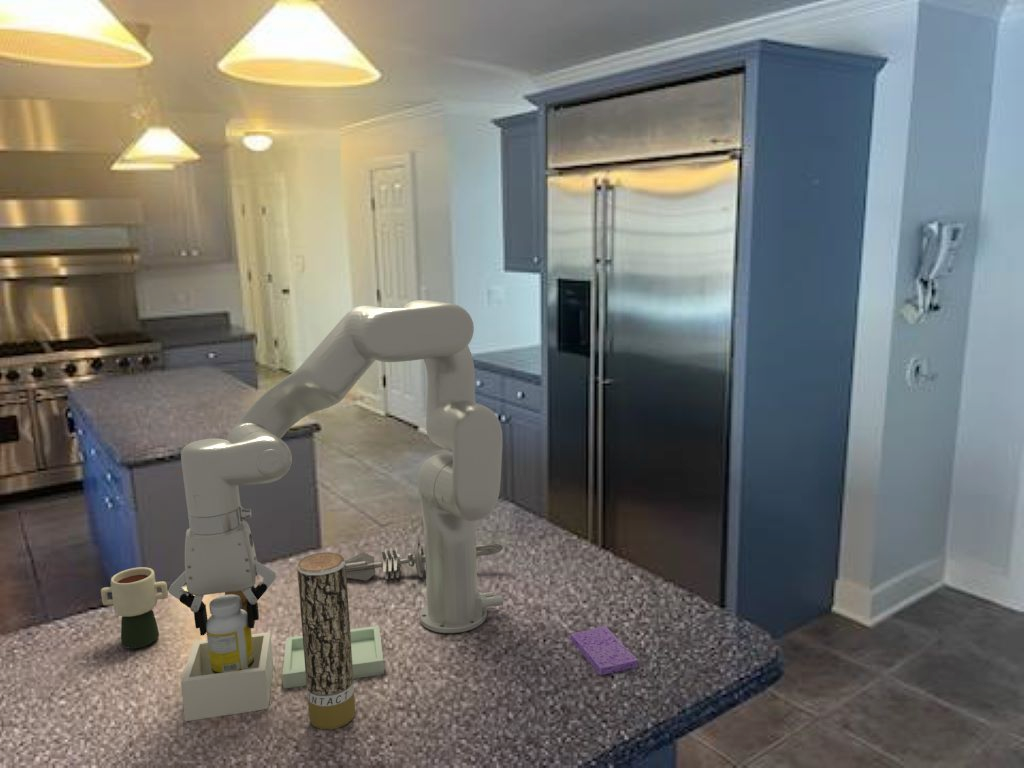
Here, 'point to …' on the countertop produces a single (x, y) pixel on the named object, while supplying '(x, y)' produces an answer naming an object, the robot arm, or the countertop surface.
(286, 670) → the tray
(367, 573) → the spaceship
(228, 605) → the pill bottle
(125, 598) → the character mug
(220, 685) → the cream square frame
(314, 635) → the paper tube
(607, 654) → the sponges
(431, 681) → the countertop surface
